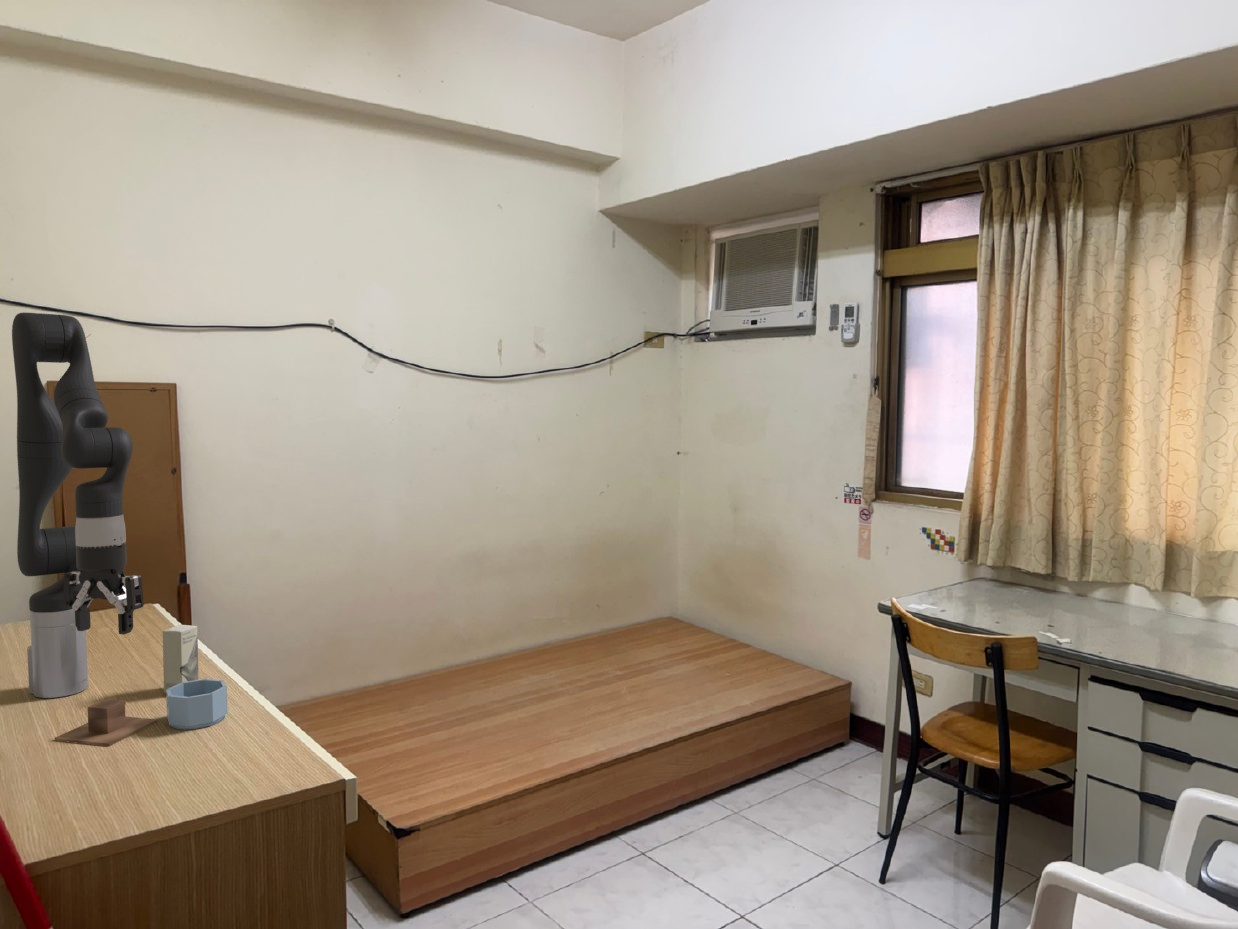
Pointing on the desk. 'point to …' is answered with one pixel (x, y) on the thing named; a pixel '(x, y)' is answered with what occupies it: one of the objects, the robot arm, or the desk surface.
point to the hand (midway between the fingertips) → (104, 631)
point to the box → (180, 655)
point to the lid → (106, 725)
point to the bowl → (196, 704)
